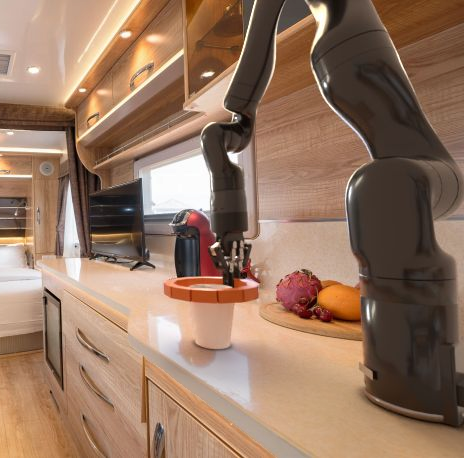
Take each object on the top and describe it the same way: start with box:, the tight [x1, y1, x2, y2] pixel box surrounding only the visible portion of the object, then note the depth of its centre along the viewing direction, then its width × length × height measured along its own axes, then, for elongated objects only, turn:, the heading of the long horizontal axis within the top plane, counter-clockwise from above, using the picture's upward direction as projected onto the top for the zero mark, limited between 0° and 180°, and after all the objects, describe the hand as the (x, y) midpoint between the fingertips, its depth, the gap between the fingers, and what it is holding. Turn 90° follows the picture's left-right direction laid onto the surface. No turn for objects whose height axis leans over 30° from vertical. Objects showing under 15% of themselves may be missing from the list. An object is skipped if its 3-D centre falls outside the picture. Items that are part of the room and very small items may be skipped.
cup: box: [187, 284, 235, 350], centre depth 70 cm, size 9×9×12 cm
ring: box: [163, 276, 260, 304], centre depth 70 cm, size 18×18×2 cm
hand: (232, 287), depth 74 cm, fingers closed on ring, 2 cm apart
